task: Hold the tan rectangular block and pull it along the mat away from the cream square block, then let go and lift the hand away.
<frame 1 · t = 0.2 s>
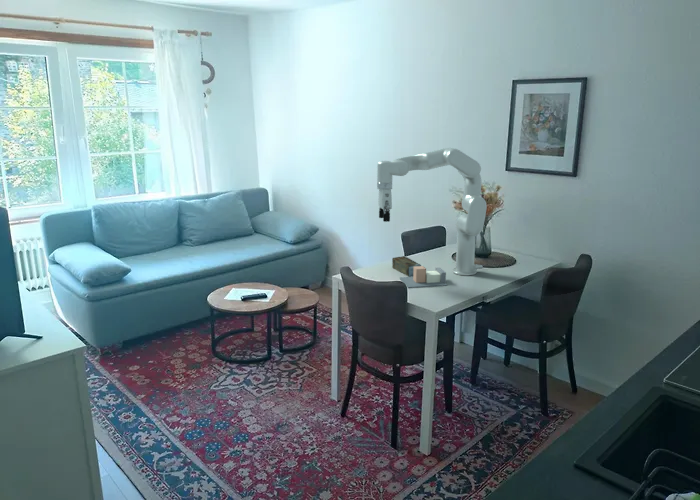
hand: (384, 219, 270), 31 cm above the table, tool pointing down, fingers open, 9 cm apart
beverage carton: (406, 272, 288), on the table
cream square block: (433, 281, 271), resting on mat
tan rectangular block: (419, 274, 268), point 4 cm above the table, slide at 0.0 cm
mat: (422, 282, 270), on the table
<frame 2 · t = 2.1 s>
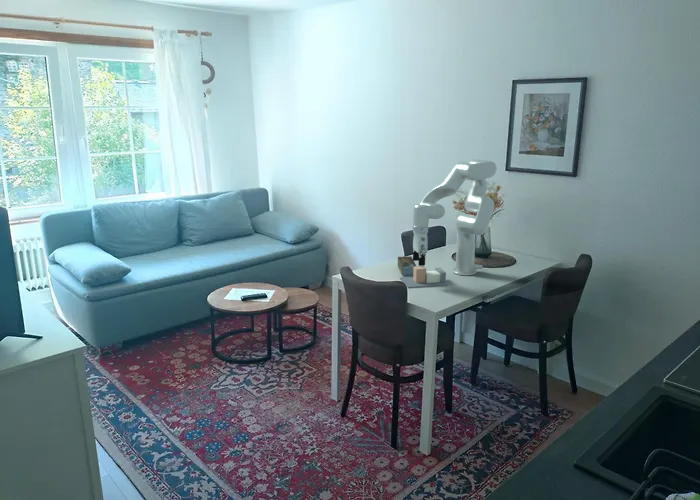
hand: (418, 263, 266), 10 cm above the table, tool pointing down, fingers open, 9 cm apart
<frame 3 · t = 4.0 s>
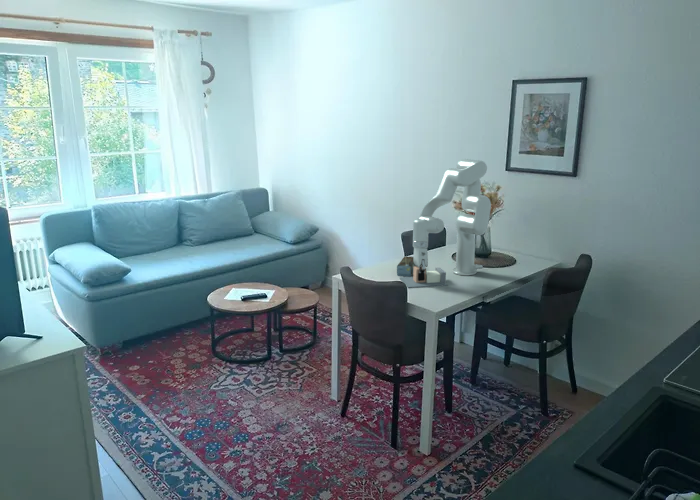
hand: (419, 278, 269), 2 cm above the table, tool pointing down, fingers closed on tan rectangular block, 5 cm apart
tan rectangular block: (419, 274, 268), point 4 cm above the table, slide at 0.0 cm, touching gripper
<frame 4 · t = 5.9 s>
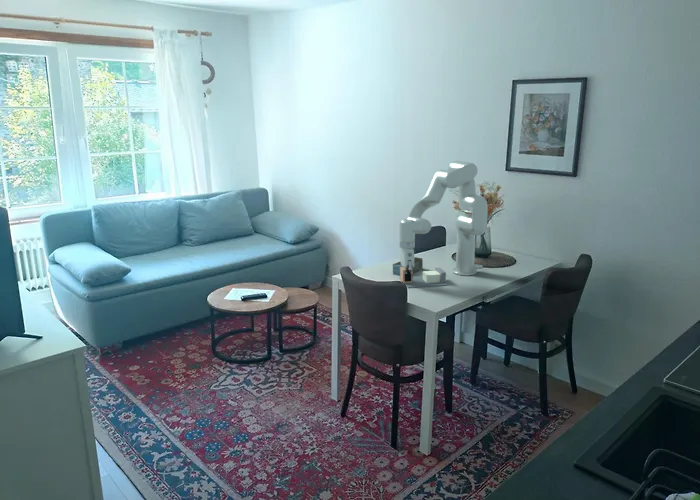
hand: (406, 279, 268), 2 cm above the table, tool pointing down, fingers closed on tan rectangular block, 5 cm apart
tan rectangular block: (406, 275, 267), point 4 cm above the table, slide at 6.9 cm, touching gripper
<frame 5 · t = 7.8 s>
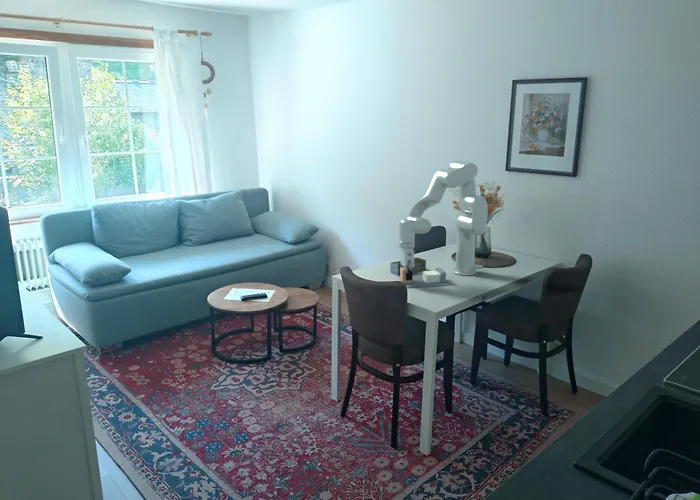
hand: (406, 277, 267), 3 cm above the table, tool pointing down, fingers open, 9 cm apart
tan rectangular block: (406, 275, 267), point 4 cm above the table, slide at 7.0 cm
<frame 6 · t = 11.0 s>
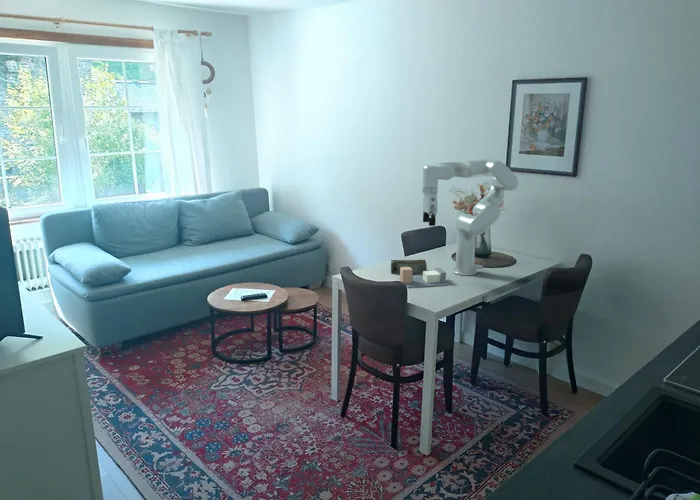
hand: (429, 223, 271), 28 cm above the table, tool pointing down, fingers open, 9 cm apart
at the end: tan rectangular block slide at 7.0 cm; the gripper is holding nothing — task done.
